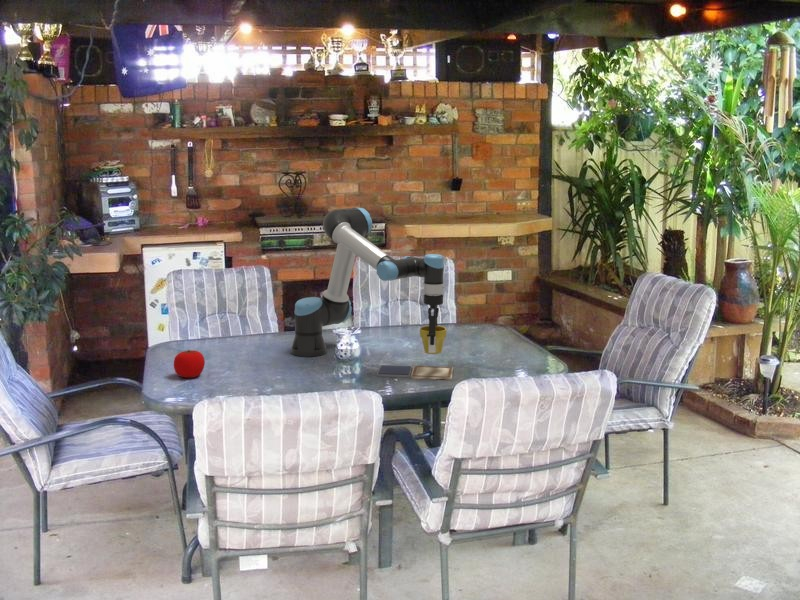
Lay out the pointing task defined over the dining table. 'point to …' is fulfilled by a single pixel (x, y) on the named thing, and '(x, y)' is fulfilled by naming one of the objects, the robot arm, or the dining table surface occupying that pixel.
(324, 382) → the dining table surface
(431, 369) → the board
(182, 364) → the tomato
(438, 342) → the plant pot
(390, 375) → the ink pad
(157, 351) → the dining table surface
